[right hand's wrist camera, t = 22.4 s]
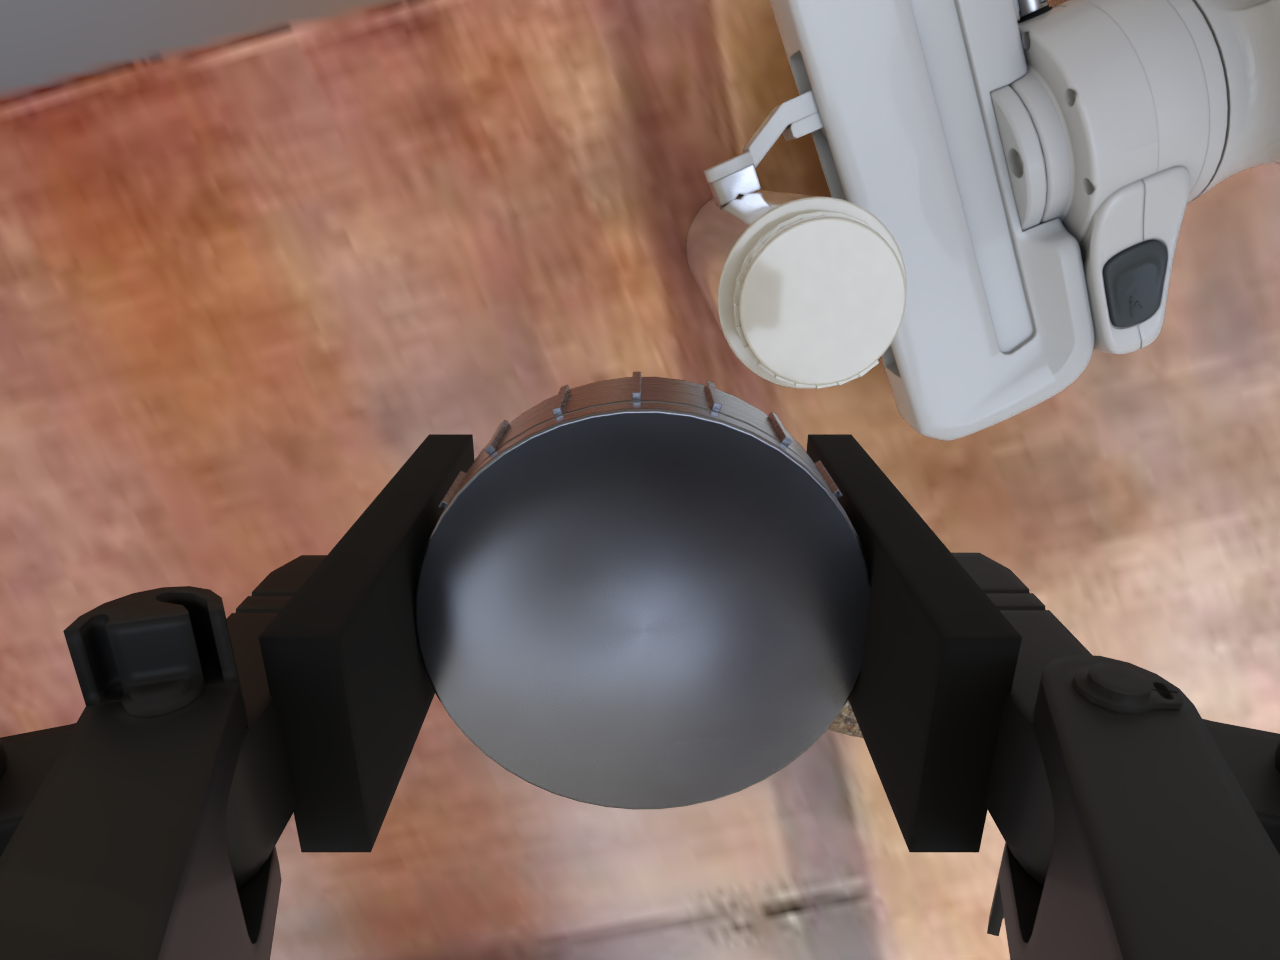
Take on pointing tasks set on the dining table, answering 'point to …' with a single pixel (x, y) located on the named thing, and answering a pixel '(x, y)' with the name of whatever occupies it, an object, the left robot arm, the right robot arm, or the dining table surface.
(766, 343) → the beige cylindrical bottle
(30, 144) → the dining table surface
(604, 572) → the lid
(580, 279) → the dining table surface
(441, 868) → the dining table surface
